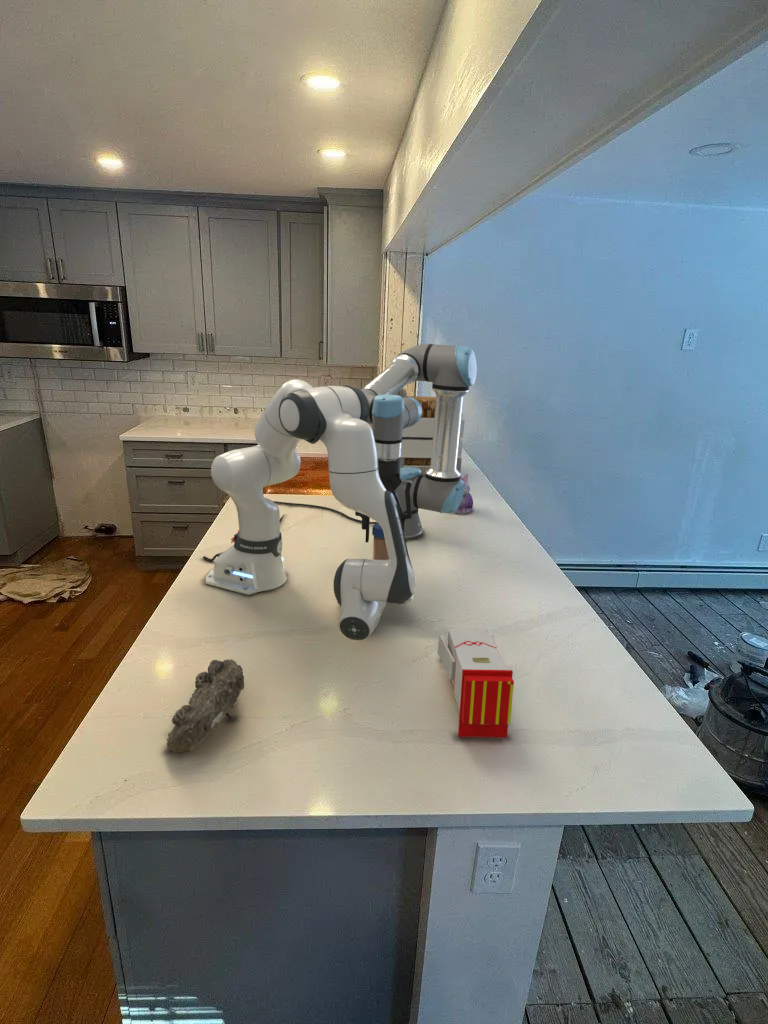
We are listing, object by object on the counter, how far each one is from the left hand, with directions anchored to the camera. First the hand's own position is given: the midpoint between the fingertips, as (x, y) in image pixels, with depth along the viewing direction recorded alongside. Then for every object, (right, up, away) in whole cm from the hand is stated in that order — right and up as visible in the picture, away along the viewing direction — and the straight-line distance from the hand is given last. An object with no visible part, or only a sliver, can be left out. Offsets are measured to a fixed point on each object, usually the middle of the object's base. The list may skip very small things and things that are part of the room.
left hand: (381, 573), depth 155 cm
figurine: (+32, +17, +71) cm, 80 cm away
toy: (+19, -21, -36) cm, 46 cm away
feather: (-37, +14, +54) cm, 67 cm away
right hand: (0, +9, -4) cm, 10 cm away
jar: (0, -6, +1) cm, 7 cm away
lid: (0, +13, -6) cm, 14 cm away
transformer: (+18, +36, +120) cm, 127 cm away
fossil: (-32, -22, -47) cm, 61 cm away
